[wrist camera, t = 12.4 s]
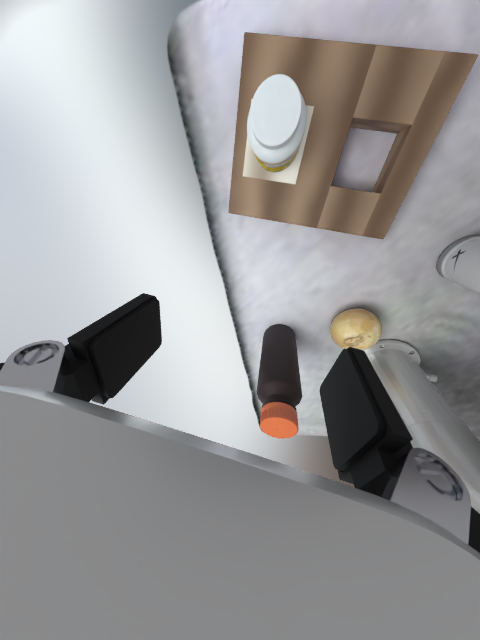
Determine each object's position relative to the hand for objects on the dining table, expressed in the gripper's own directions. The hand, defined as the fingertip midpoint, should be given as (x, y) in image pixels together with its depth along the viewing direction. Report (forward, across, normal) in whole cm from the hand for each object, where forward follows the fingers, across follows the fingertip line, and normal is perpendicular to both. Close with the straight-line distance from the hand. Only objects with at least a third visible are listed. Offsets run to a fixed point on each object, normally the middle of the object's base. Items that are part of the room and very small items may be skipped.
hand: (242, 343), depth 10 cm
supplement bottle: (+23, +3, -12) cm, 26 cm away
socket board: (+26, -3, -12) cm, 29 cm away
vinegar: (+27, -6, +17) cm, 33 cm away
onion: (+28, -18, +10) cm, 34 cm away
